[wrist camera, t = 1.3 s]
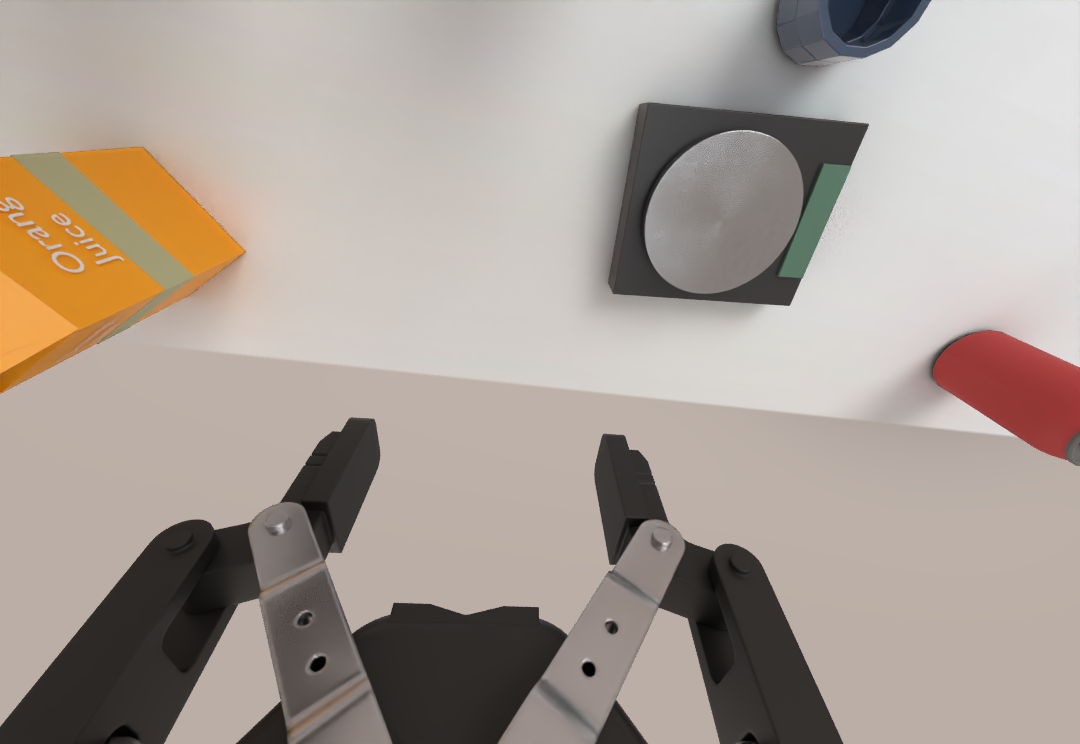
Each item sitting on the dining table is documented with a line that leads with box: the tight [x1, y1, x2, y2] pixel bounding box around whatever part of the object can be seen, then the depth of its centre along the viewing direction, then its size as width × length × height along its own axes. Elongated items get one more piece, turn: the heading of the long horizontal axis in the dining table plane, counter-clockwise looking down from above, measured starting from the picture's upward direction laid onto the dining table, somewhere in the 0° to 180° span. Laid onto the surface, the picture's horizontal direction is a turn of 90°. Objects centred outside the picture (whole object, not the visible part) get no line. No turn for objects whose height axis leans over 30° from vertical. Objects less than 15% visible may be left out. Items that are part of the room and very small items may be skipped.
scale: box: [608, 103, 869, 306], centre depth 31 cm, size 13×15×3 cm
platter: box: [642, 130, 803, 294], centre depth 29 cm, size 11×11×1 cm
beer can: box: [933, 330, 1080, 466], centre depth 34 cm, size 7×7×12 cm
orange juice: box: [0, 147, 246, 394], centre depth 23 cm, size 8×9×20 cm
